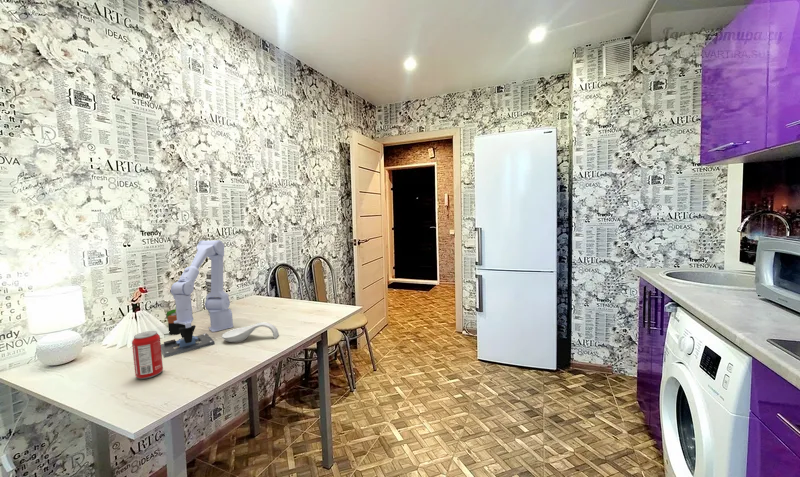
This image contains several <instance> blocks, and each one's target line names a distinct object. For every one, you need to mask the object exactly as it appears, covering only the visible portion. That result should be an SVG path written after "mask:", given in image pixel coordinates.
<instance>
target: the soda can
mask: <svg viewBox="0 0 800 477" xmlns="http://www.w3.org/2000/svg"><path fill="white" fill-rule="evenodd" d="M161 344H162V343H161V336H160V335H159V334H158V331H156V330H150V331H144V332H139V333H137V334H134V335H133V339H132V340H131V347H132V356H133V365H134V376H135V378H136V379H139V380H140V379H141V380H146V379H150V378H154V377H156V376H158V375H159V374H161V373H162V372H163V370H164V366H163V365H164V364H163V353H162V351H161Z"/></svg>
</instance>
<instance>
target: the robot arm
mask: <svg viewBox="0 0 800 477" xmlns="http://www.w3.org/2000/svg"><path fill="white" fill-rule="evenodd" d="M224 257H225V243H223V242H222V240H220V239H217V240H215V239H214V240H200V241H198V243H197V245H196V253H195V255H194V257H193V259H192V261H191V264H190V265H189V266H187V267H185V268H184V270H183V272H182V274H181V275H180V277H179V279H178V280H177V281H176V282H173V284H172V285H171V288H170V294H171V295H172V296H173V297H172V298H173V300H174V301H175V302H174V303H175V307H176V315H177V320H176V321H174V323H176V325H177V326H178V328H179V330H180V333H179V334H180V337H181V338H183V337H184V340H185V343H190V342H192V337H193V336H194V332H195V329H196V325H195V324H192V323H193V321H194V317H193V306H192V293H193V292H194V287H195V282H196V280H197V278H198V277H199V274H200V270H199V269H200V267H201V265H203V263H204V262H205V260H206V259H207V258H209V259H210V260H211V261H210V262H211V263H210V264H211V265H210V270H211V292H210V293H209V294H208V295H207V294H206V296H205V298H206V299H205V302H204V308H205V309H206V311H207V312H208V313H209V312H210V315H209V317H210V318H209V320H210V326H208V329H209V330H210V332H212V333H214V332H218V331H224V330H227V329H231V328H234V320H233V312H232V309H231V308H229V307H230V306H231V303H230V302H231V301H230V299H229V298H230V297H229V296H230V295H229V293H227V292H225V290H224V289H223V288H224V286H223V285H224V283H223V282H224ZM214 297H220V298H214Z"/></svg>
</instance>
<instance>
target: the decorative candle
mask: <svg viewBox="0 0 800 477" xmlns="http://www.w3.org/2000/svg"><path fill="white" fill-rule="evenodd" d="M205 275H206V279H205V281H204V282H205V284H204V285H205V286H206V287H205V289H206V290H205V291H206V296H207V295H208V294H209V293H210V292H211V269H210V270H208V271H207V272H206V273H205ZM224 286H225V284H224V281H223V290H225V288H224ZM214 298H220V297H214ZM208 315H209V316H210V312H208Z"/></svg>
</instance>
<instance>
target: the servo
mask: <svg viewBox="0 0 800 477" xmlns="http://www.w3.org/2000/svg"><path fill="white" fill-rule="evenodd" d="M195 336H196V337H194V335H193V337H192V342H190V343H185V340H184V337H183V338H182V337H181V338H179V339H178V340H179V341H178V340H175V341H176V343H177V344H179V346H178V348H180V347H184V346H188V345H192V344H195V343H197V341H195V340H197V339H198V338H197V336H198V335H195Z"/></svg>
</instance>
